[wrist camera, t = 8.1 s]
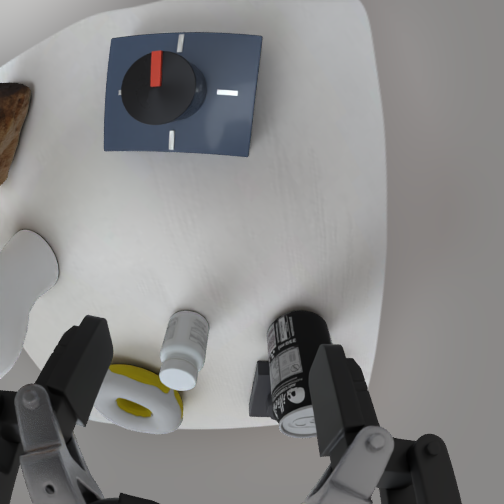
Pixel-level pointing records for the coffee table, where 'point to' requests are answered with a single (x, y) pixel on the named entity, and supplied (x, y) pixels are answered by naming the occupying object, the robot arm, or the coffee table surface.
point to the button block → (261, 392)
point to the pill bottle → (183, 350)
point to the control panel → (213, 108)
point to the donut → (139, 400)
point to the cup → (22, 289)
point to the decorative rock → (11, 121)
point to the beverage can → (294, 369)
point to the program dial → (162, 88)
